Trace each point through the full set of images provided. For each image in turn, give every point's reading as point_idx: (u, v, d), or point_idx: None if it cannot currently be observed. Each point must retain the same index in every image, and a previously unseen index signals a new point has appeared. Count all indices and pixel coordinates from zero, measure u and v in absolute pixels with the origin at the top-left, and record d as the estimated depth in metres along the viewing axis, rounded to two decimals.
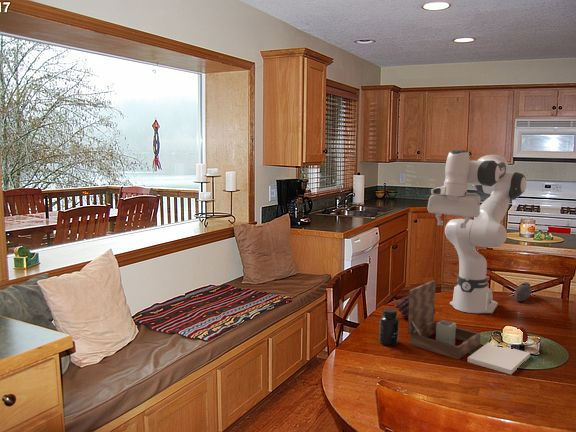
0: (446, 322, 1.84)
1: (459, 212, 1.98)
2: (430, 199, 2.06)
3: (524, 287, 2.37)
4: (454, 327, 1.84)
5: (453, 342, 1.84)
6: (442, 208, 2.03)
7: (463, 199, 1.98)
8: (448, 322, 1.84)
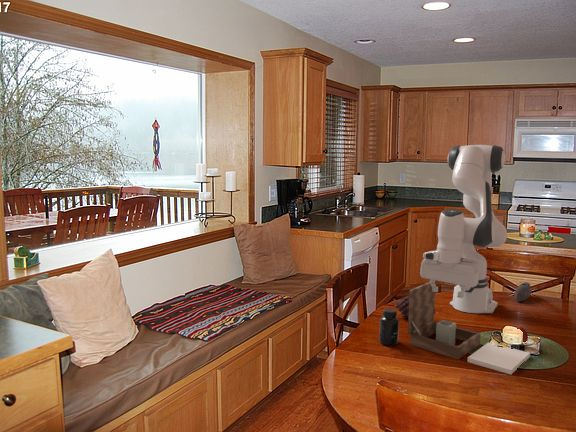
0: (446, 322, 1.84)
1: (456, 281, 1.78)
2: (423, 264, 1.85)
3: (524, 287, 2.37)
4: (454, 327, 1.84)
5: (453, 342, 1.84)
6: (436, 275, 1.83)
7: (459, 267, 1.77)
8: (448, 322, 1.84)
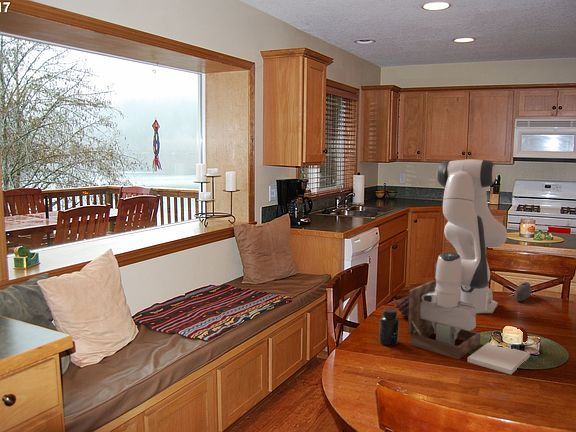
0: None
1: (454, 324, 1.80)
2: (421, 305, 1.87)
3: (524, 287, 2.37)
4: (454, 327, 1.84)
5: (453, 342, 1.84)
6: (435, 317, 1.85)
7: (457, 310, 1.79)
8: None
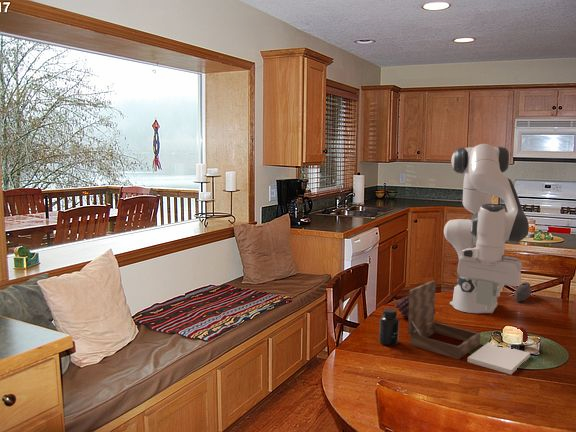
0: None
1: (497, 280, 1.68)
2: (460, 261, 1.75)
3: (524, 287, 2.37)
4: (496, 284, 1.72)
5: (495, 300, 1.72)
6: (475, 273, 1.73)
7: (500, 264, 1.67)
8: None
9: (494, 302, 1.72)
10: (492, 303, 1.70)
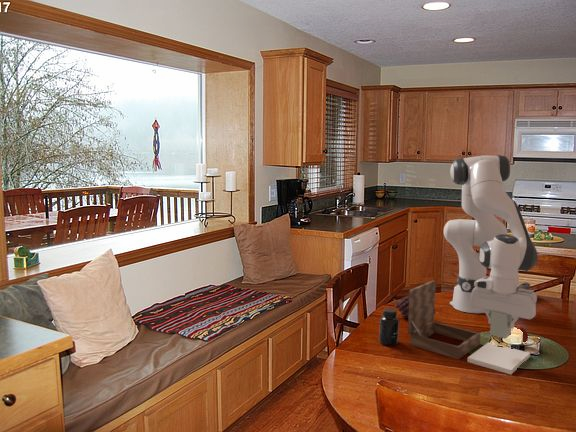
0: None
1: (511, 312, 1.66)
2: (474, 292, 1.74)
3: (524, 287, 2.37)
4: (510, 315, 1.70)
5: (509, 332, 1.70)
6: (489, 304, 1.71)
7: (515, 297, 1.65)
8: None
9: (508, 334, 1.70)
10: (506, 335, 1.69)
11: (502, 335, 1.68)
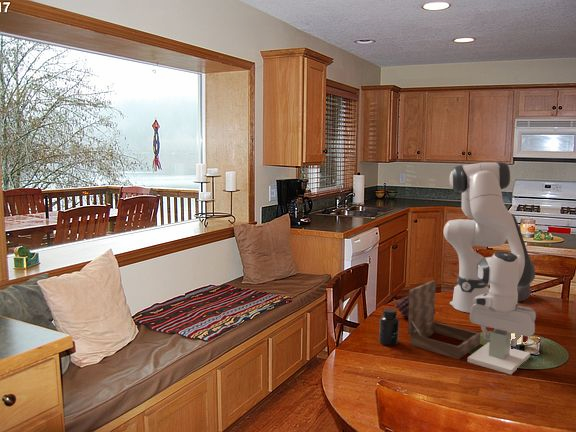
0: (500, 331, 1.71)
1: (510, 329, 1.67)
2: (473, 309, 1.74)
3: (524, 287, 2.37)
4: (509, 336, 1.71)
5: (508, 352, 1.72)
6: (488, 321, 1.72)
7: (514, 314, 1.66)
8: (503, 331, 1.71)
9: (507, 354, 1.71)
10: (505, 356, 1.70)
11: (501, 356, 1.70)
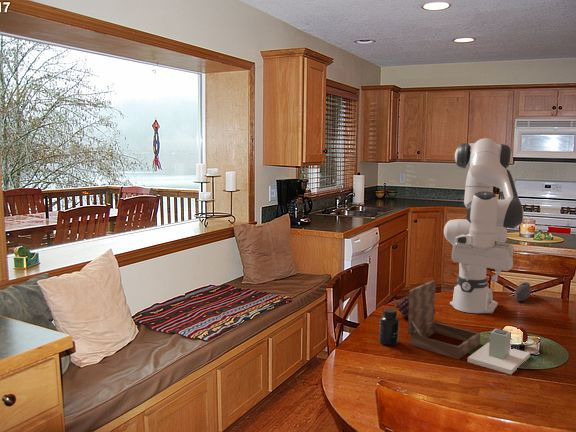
0: (500, 331, 1.71)
1: (490, 265, 1.75)
2: (454, 248, 1.81)
3: (524, 287, 2.37)
4: (509, 336, 1.71)
5: (508, 352, 1.72)
6: (469, 259, 1.79)
7: (493, 250, 1.73)
8: (503, 331, 1.71)
9: (507, 354, 1.71)
10: (505, 356, 1.70)
11: (501, 356, 1.70)
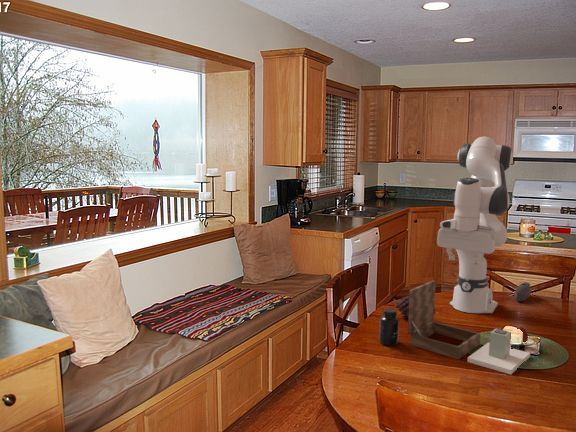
0: (500, 331, 1.71)
1: (473, 248, 1.81)
2: (440, 232, 1.88)
3: (524, 287, 2.37)
4: (509, 336, 1.71)
5: (508, 352, 1.72)
6: (453, 243, 1.86)
7: (476, 234, 1.80)
8: (503, 331, 1.71)
9: (507, 354, 1.71)
10: (505, 356, 1.70)
11: (501, 356, 1.70)
